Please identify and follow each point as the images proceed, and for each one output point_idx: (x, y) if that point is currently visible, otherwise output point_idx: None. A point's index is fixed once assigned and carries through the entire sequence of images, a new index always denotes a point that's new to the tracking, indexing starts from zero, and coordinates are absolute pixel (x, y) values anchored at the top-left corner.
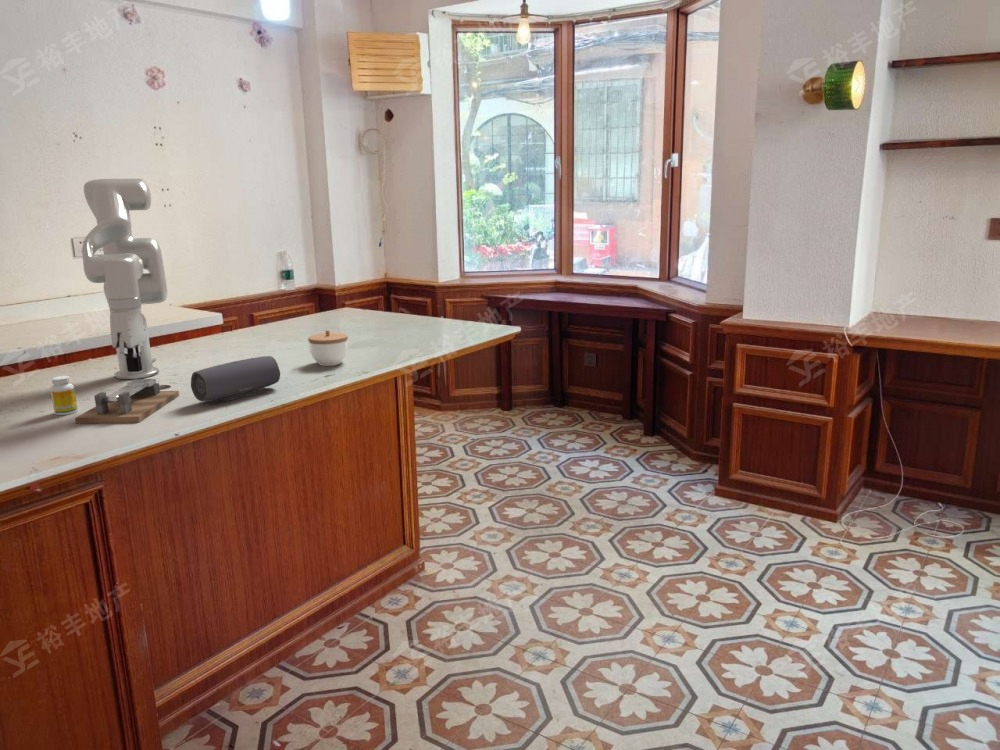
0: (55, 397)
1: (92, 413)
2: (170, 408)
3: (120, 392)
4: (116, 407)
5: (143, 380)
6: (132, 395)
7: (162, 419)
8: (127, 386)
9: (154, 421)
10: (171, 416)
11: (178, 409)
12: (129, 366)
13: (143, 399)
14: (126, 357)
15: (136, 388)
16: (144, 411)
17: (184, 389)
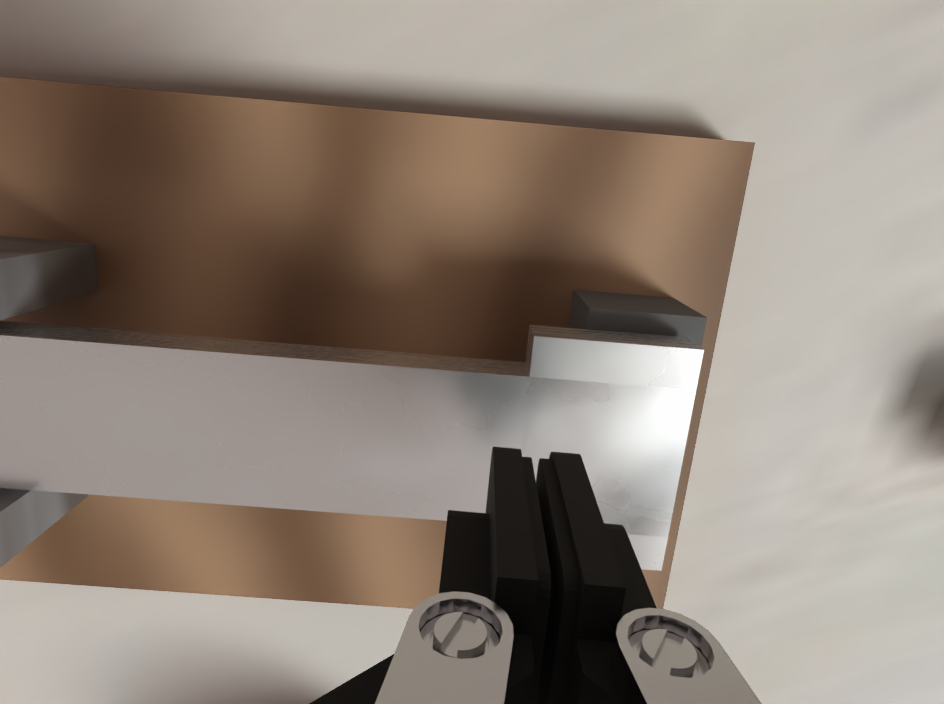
0: None
1: (20, 173)
2: (316, 635)
3: (124, 421)
4: (201, 315)
5: (620, 473)
6: (571, 312)
7: (64, 662)
8: (373, 399)
9: (20, 631)
10: (129, 693)
11: (286, 688)
12: (448, 534)
13: None
14: (419, 629)
15: (306, 507)
16: (85, 572)
17: (839, 579)
